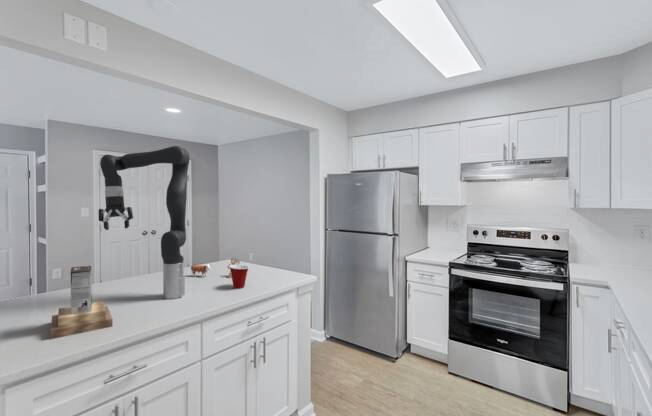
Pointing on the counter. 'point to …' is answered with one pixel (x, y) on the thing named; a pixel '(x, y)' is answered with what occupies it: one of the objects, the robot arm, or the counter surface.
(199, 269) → the bull figurine
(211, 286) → the counter surface
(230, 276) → the tan wooden handled piece
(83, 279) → the coffee box
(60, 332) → the plinth
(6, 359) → the counter surface
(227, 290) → the counter surface
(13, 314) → the counter surface
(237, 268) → the plastic cup
